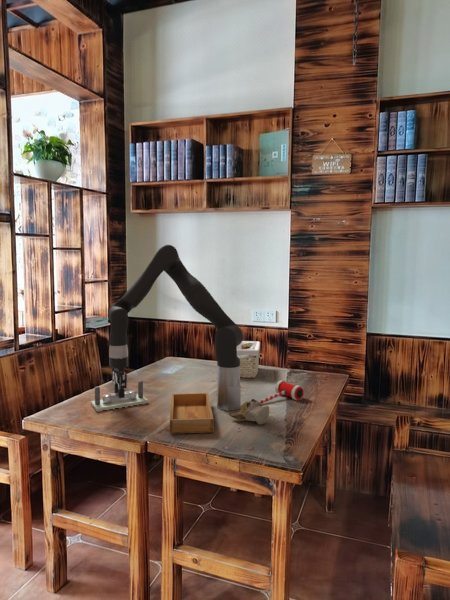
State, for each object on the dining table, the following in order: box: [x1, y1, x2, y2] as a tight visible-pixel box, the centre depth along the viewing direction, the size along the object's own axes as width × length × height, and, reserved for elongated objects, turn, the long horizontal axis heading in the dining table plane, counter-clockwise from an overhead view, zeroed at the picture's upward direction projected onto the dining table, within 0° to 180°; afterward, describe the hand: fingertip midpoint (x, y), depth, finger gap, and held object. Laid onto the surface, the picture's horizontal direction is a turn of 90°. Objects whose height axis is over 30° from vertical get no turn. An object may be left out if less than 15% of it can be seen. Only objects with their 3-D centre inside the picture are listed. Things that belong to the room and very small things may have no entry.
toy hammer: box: [257, 379, 305, 406], centre depth 194 cm, size 23×12×6 cm, turn 128°
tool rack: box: [90, 379, 149, 412], centre depth 188 cm, size 21×10×8 cm, turn 119°
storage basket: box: [237, 340, 261, 379], centre depth 237 cm, size 24×16×15 cm
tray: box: [169, 392, 214, 435], centre depth 173 cm, size 31×15×6 cm, turn 5°
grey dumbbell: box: [101, 390, 137, 404], centre depth 188 cm, size 14×4×3 cm, turn 119°
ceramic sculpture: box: [228, 398, 270, 426], centre depth 170 cm, size 11×9×15 cm
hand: (119, 395), depth 188 cm, fingers open, 5 cm apart
